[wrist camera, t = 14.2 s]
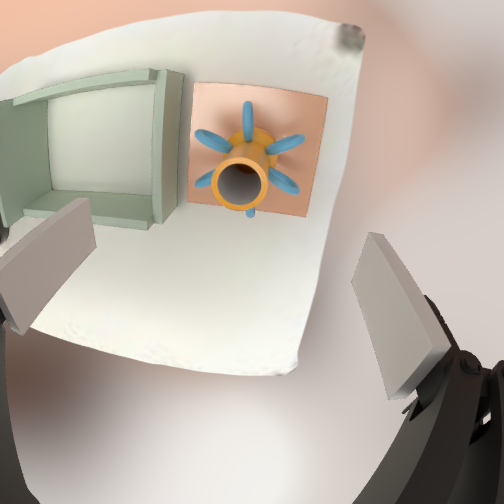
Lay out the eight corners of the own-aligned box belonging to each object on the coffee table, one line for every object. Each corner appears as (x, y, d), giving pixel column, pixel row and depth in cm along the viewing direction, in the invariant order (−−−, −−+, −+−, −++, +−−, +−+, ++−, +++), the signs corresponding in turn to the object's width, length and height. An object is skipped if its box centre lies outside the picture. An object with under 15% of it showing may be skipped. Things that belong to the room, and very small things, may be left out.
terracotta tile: (189, 199, 37) (187, 202, 36) (196, 82, 28) (194, 82, 28) (305, 214, 37) (305, 217, 36) (326, 98, 28) (328, 97, 28)
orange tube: (318, 142, 31) (352, 172, 18) (272, 207, 36) (272, 274, 23) (231, 89, 28) (200, 79, 15) (190, 160, 33) (140, 201, 20)
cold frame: (48, 196, 37) (3, 227, 27) (43, 94, 28) (-11, 104, 17) (176, 206, 37) (143, 249, 27) (183, 74, 28) (143, 63, 18)
